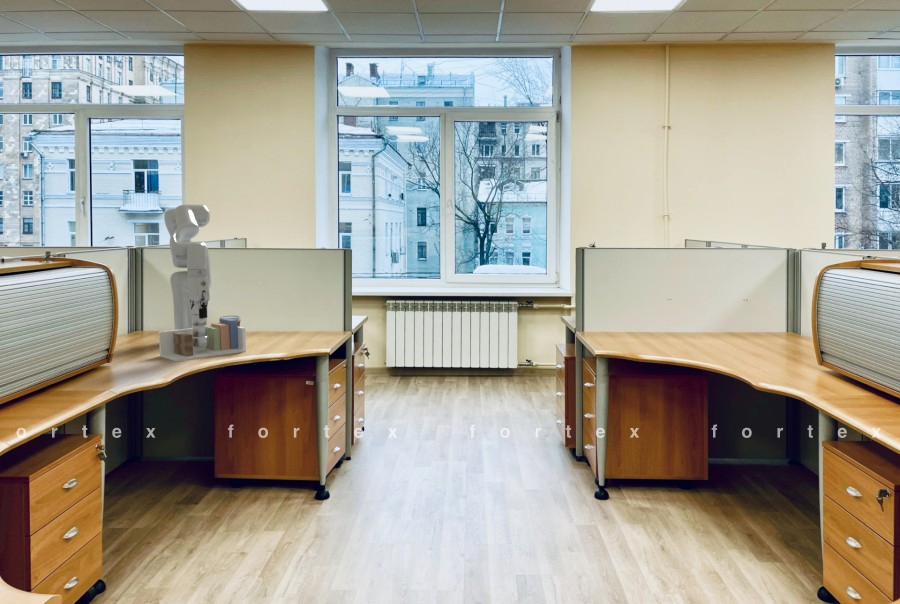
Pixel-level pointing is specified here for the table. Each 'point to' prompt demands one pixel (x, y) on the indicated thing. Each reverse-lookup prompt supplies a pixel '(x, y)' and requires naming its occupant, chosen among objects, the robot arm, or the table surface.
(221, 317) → the disposable coffee cup
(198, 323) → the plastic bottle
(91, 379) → the table surface
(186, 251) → the robot arm
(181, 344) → the bookend
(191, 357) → the shelf
